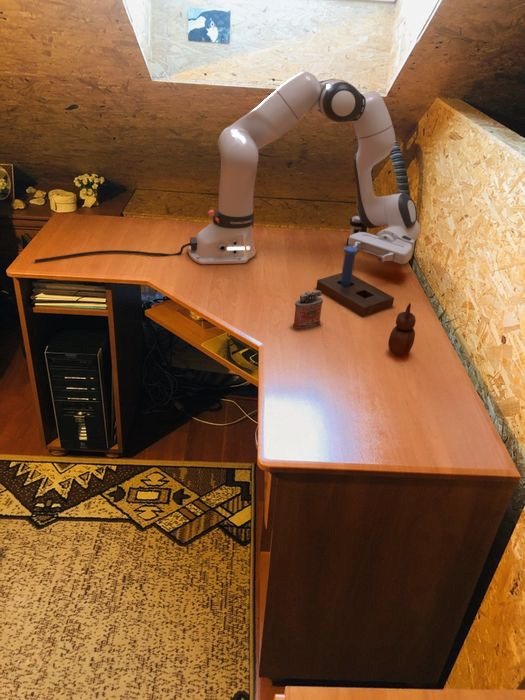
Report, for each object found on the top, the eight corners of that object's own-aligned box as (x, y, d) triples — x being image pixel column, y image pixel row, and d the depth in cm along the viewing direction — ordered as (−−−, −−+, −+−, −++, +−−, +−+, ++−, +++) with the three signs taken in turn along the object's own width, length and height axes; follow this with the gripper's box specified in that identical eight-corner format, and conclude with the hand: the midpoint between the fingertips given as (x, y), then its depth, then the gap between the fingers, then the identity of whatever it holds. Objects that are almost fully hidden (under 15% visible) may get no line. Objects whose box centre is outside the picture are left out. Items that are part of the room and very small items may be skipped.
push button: (357, 240, 208) (361, 213, 203) (367, 245, 204) (371, 218, 199) (343, 243, 205) (346, 216, 199) (352, 248, 201) (356, 221, 196)
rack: (362, 317, 160) (364, 307, 159) (316, 288, 174) (317, 279, 172) (392, 306, 167) (394, 297, 165) (345, 280, 180) (346, 271, 178)
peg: (341, 295, 171) (348, 251, 163) (335, 290, 174) (341, 246, 166) (352, 294, 172) (359, 250, 164) (346, 288, 175) (353, 245, 167)
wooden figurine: (404, 362, 142) (417, 309, 134) (383, 355, 144) (393, 302, 136) (414, 350, 147) (426, 298, 139) (392, 343, 149) (403, 292, 141)
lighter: (296, 331, 152) (300, 297, 146) (290, 325, 154) (293, 292, 149) (322, 325, 155) (326, 292, 150) (315, 319, 158) (319, 287, 152)
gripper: (362, 224, 188) (339, 235, 179) (419, 241, 178) (398, 254, 169) (359, 242, 192) (337, 254, 182) (415, 260, 181) (394, 274, 172)
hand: (367, 254), depth 175 cm, fingers open, 8 cm apart
